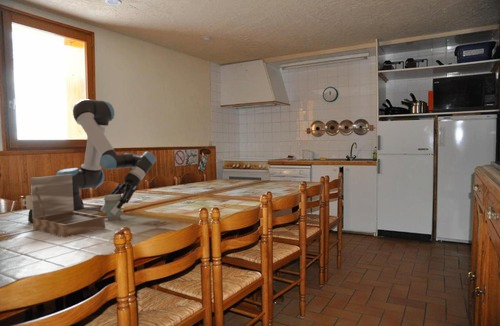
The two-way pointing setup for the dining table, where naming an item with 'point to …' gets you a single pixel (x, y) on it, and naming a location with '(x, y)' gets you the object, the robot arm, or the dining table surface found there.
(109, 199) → the coffee cup
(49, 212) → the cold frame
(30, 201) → the character mug
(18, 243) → the dining table surface
